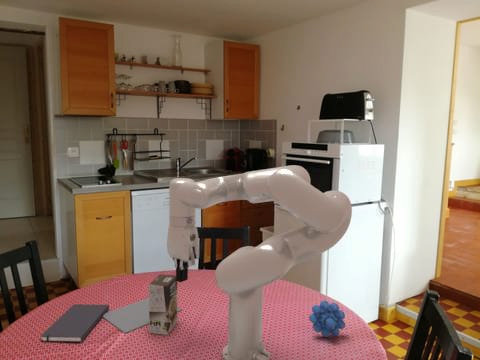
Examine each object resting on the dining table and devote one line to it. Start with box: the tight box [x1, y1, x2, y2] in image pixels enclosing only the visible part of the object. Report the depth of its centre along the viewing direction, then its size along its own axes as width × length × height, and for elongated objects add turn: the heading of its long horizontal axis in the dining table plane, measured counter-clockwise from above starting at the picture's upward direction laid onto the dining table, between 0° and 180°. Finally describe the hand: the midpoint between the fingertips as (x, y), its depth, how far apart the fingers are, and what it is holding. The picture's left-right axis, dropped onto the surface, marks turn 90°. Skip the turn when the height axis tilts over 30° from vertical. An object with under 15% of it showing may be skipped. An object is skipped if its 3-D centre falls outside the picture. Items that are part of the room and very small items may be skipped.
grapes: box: [308, 300, 346, 338], centre depth 122 cm, size 12×7×12 cm, turn 96°
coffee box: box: [148, 273, 179, 336], centre depth 127 cm, size 9×6×16 cm
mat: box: [102, 297, 183, 334], centre depth 137 cm, size 16×22×1 cm
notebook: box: [40, 303, 110, 343], centre depth 128 cm, size 13×2×21 cm
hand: (181, 280), depth 118 cm, fingers closed
